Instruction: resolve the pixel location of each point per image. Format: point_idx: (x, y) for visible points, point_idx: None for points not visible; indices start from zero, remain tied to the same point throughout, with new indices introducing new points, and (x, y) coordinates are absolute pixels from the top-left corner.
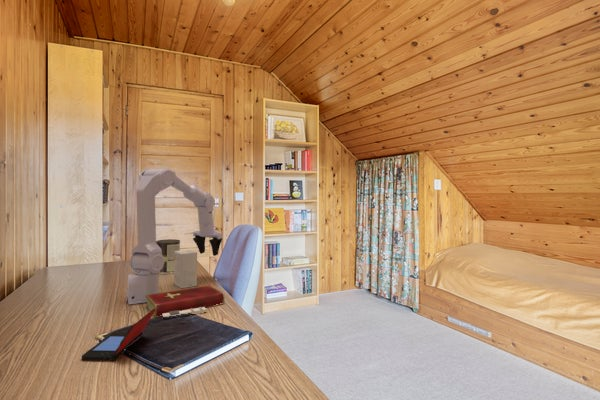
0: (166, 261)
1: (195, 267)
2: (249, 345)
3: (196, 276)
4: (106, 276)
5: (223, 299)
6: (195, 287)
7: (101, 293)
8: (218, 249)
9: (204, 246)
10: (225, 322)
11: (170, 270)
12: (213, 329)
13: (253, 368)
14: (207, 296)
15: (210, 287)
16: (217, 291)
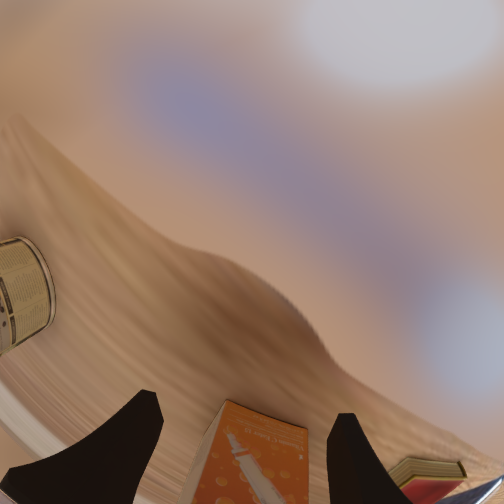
0: (15, 345)
1: (305, 495)
2: (500, 486)
3: (307, 460)
4: (10, 388)
5: (462, 470)
6: None
7: (142, 497)
8: (372, 454)
9: (127, 435)
10: (474, 486)
11: (45, 317)
12: (461, 500)
13: (501, 494)
14: (436, 501)
15: (424, 483)
16: (451, 483)
